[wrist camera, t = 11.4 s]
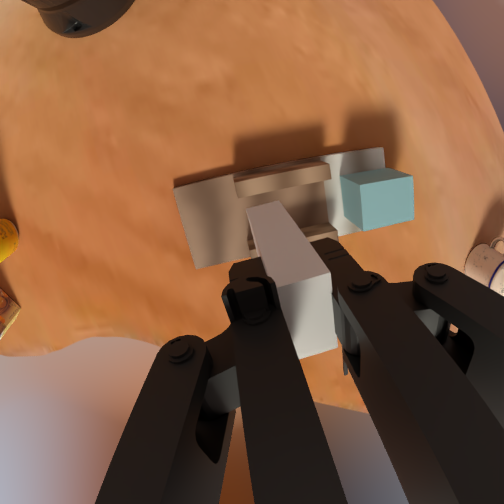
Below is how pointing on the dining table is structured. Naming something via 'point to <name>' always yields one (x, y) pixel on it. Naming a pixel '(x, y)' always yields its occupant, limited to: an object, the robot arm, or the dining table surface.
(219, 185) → the walnut board
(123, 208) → the dining table surface
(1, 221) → the beer can
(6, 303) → the candy box
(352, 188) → the teal block
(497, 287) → the teacup with lid
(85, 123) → the dining table surface
